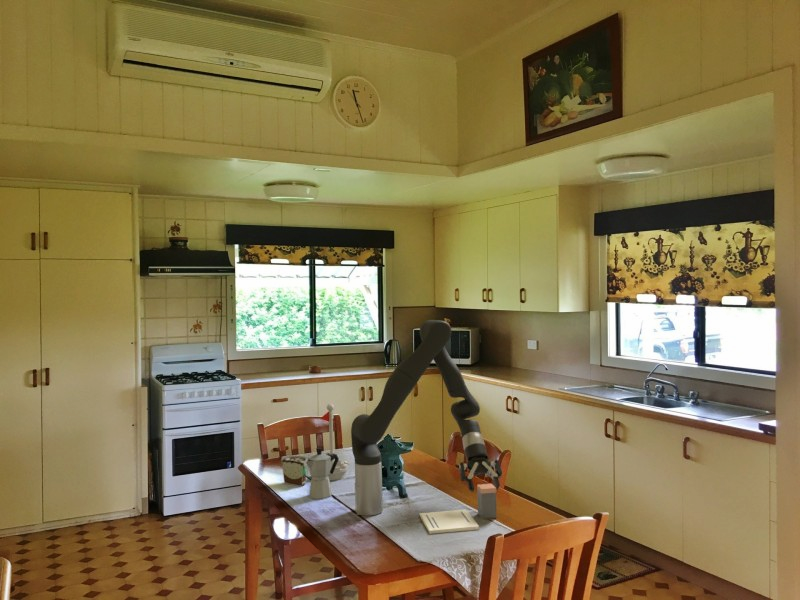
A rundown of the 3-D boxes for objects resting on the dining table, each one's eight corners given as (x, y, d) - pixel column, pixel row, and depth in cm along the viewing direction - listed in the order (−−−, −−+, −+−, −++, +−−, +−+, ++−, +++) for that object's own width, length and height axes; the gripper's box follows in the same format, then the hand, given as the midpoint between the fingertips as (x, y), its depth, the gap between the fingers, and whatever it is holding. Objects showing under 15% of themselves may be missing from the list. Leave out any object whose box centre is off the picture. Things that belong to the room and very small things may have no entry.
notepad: (429, 533, 209) (429, 530, 209) (419, 516, 225) (419, 513, 225) (479, 529, 212) (478, 526, 212) (465, 512, 228) (465, 509, 228)
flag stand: (334, 470, 283) (332, 399, 282) (355, 475, 274) (352, 403, 273) (310, 477, 274) (307, 404, 273) (330, 483, 265) (327, 408, 264)
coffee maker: (313, 502, 242) (311, 453, 242) (299, 497, 249) (298, 449, 248) (346, 492, 252) (344, 445, 252) (332, 487, 259) (330, 441, 258)
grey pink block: (482, 519, 221) (481, 489, 220) (477, 513, 226) (477, 484, 225) (496, 517, 222) (495, 487, 221) (492, 512, 226) (491, 483, 226)
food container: (315, 482, 266) (314, 457, 266) (305, 487, 261) (304, 461, 261) (291, 478, 273) (290, 454, 273) (281, 482, 268) (280, 457, 267)
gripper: (456, 443, 233) (466, 486, 222) (496, 440, 235) (507, 482, 224) (453, 455, 238) (462, 497, 227) (492, 452, 240) (503, 493, 230)
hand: (485, 489), depth 226 cm, fingers open, 8 cm apart
